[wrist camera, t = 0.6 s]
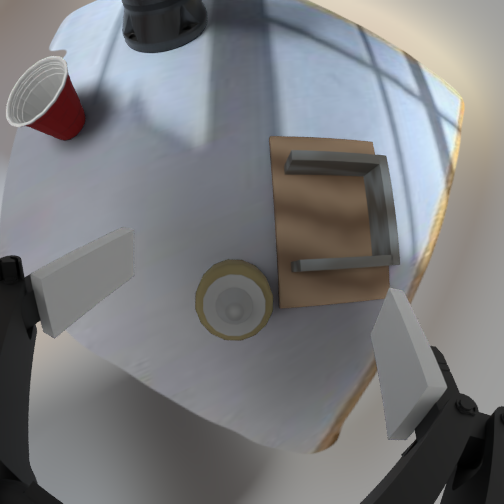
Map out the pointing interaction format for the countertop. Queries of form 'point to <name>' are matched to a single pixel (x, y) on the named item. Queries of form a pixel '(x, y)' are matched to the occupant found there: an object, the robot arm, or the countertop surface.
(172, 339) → the countertop surface
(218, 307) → the squeeze bottle
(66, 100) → the plastic cup
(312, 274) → the u rest
